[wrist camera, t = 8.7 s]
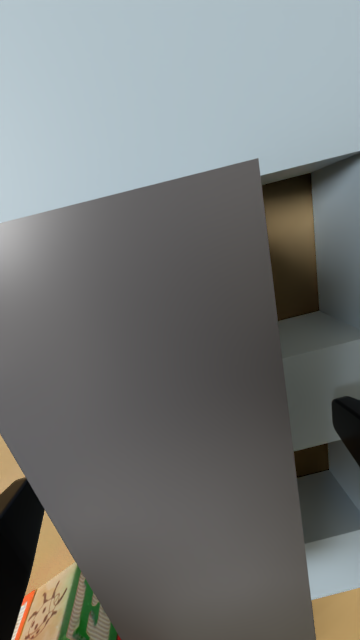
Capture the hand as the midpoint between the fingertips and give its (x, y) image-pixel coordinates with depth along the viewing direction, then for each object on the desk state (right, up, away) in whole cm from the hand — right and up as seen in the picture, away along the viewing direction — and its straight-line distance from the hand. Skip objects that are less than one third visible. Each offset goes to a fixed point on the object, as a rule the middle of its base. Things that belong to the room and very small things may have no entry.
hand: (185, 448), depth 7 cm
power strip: (0, +1, +3) cm, 3 cm away
